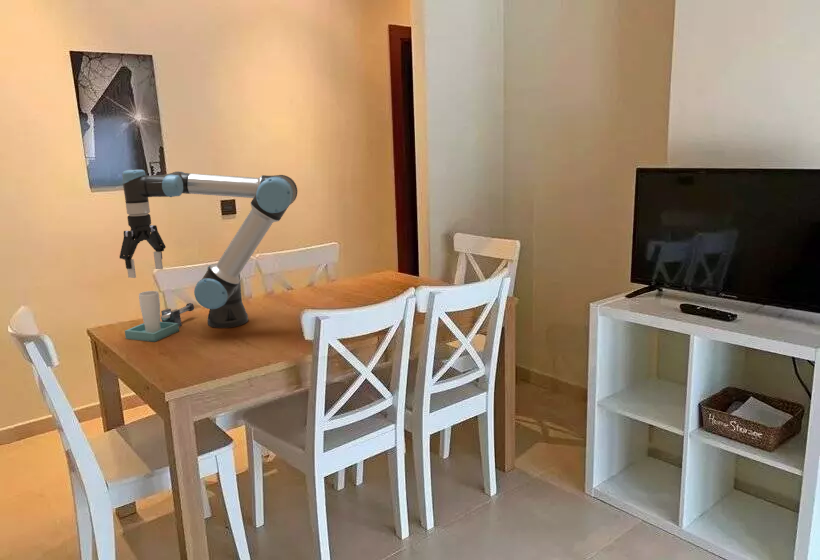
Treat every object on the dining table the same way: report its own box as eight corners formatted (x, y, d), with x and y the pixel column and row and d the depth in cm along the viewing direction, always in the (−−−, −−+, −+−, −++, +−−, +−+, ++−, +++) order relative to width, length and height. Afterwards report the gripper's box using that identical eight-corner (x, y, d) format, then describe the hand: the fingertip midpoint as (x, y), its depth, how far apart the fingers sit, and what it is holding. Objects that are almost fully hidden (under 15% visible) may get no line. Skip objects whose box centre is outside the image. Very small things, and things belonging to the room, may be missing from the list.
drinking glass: (156, 335, 232) (151, 295, 228) (139, 334, 233) (134, 295, 229) (166, 329, 238) (162, 290, 235) (150, 329, 240) (145, 290, 236)
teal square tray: (179, 331, 239) (178, 323, 239) (154, 342, 227) (153, 334, 227) (151, 327, 244) (150, 320, 243) (125, 338, 232) (124, 330, 231)
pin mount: (181, 325, 246) (179, 309, 244) (175, 328, 242) (173, 312, 241) (168, 324, 248) (167, 308, 246) (162, 326, 244) (160, 310, 243)
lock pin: (194, 310, 255) (193, 303, 254) (167, 322, 240) (166, 314, 239) (187, 310, 256) (187, 302, 255) (160, 321, 241) (159, 313, 240)
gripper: (154, 209, 237) (161, 265, 243) (102, 219, 215) (111, 280, 220) (171, 209, 235) (177, 266, 240) (120, 219, 212) (128, 281, 217)
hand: (146, 273), depth 230 cm, fingers open, 13 cm apart
